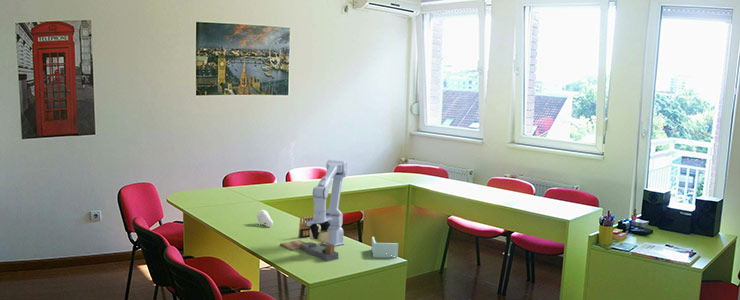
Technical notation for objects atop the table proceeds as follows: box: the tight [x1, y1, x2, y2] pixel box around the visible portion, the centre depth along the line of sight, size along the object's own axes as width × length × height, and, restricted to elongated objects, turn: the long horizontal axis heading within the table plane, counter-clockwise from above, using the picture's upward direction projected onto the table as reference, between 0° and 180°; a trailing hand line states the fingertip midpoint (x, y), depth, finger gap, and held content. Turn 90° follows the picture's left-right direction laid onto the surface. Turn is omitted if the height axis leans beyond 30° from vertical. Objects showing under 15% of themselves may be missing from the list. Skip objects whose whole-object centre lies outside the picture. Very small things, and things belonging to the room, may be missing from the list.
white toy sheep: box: [256, 209, 274, 228], centre depth 327 cm, size 6×8×12 cm
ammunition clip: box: [297, 215, 318, 239], centre depth 306 cm, size 11×2×12 cm, turn 122°
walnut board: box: [279, 239, 306, 251], centre depth 290 cm, size 12×11×1 cm
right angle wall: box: [371, 236, 399, 259], centre depth 282 cm, size 12×12×8 cm
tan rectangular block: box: [309, 227, 329, 244], centre depth 276 cm, size 4×9×5 cm, turn 44°
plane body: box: [299, 241, 339, 262], centre depth 277 cm, size 7×22×7 cm, turn 42°
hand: (319, 237), depth 276 cm, fingers closed on tan rectangular block, 4 cm apart
